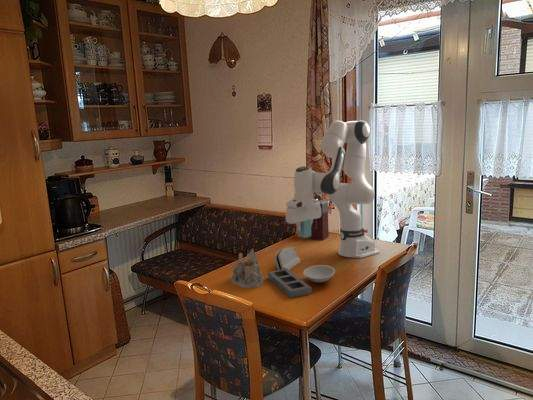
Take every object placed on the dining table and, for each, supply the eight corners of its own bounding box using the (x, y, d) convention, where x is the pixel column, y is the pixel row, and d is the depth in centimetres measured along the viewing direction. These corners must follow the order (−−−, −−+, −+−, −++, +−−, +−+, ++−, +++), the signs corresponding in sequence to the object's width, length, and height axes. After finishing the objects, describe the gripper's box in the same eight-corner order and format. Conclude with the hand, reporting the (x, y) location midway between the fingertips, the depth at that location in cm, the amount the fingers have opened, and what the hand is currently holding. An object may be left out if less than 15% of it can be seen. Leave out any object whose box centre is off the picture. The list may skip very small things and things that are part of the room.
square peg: (304, 234, 201) (304, 218, 200) (311, 236, 198) (310, 219, 197) (298, 236, 199) (297, 219, 198) (304, 237, 195) (304, 221, 194)
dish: (309, 273, 202) (308, 263, 201) (338, 276, 197) (338, 266, 196) (299, 287, 186) (298, 277, 185) (330, 290, 181) (330, 279, 180)
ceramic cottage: (233, 275, 205) (232, 246, 201) (266, 276, 203) (265, 247, 199) (226, 289, 190) (224, 259, 186) (261, 291, 188) (260, 260, 184)
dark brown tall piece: (308, 239, 259) (307, 195, 253) (315, 235, 268) (314, 192, 263) (322, 241, 254) (321, 196, 249) (328, 236, 264) (327, 193, 259)
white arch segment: (286, 271, 206) (279, 252, 206) (278, 273, 209) (272, 254, 209) (301, 261, 220) (294, 243, 220) (294, 262, 223) (287, 245, 223)
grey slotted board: (287, 274, 202) (286, 268, 202) (311, 293, 178) (311, 287, 178) (268, 278, 199) (267, 272, 198) (290, 298, 175) (290, 291, 174)
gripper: (314, 197, 204) (315, 225, 207) (283, 203, 192) (284, 232, 194) (324, 199, 199) (324, 227, 202) (292, 205, 187) (293, 234, 189)
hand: (304, 229), depth 198 cm, fingers closed on square peg, 4 cm apart
